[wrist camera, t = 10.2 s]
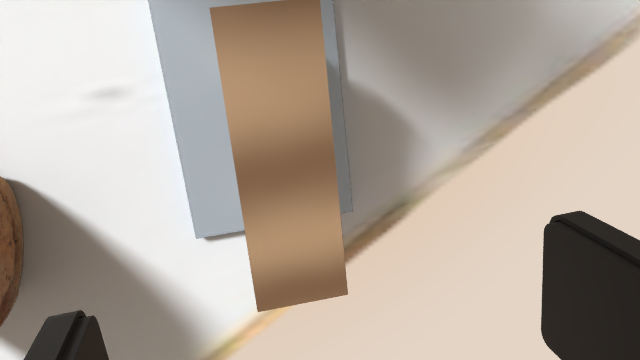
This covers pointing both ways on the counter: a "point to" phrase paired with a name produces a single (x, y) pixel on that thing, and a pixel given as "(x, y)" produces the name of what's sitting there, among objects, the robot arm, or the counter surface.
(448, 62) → the counter surface
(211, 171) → the base
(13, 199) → the brown rounded tall lump
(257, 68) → the beam
